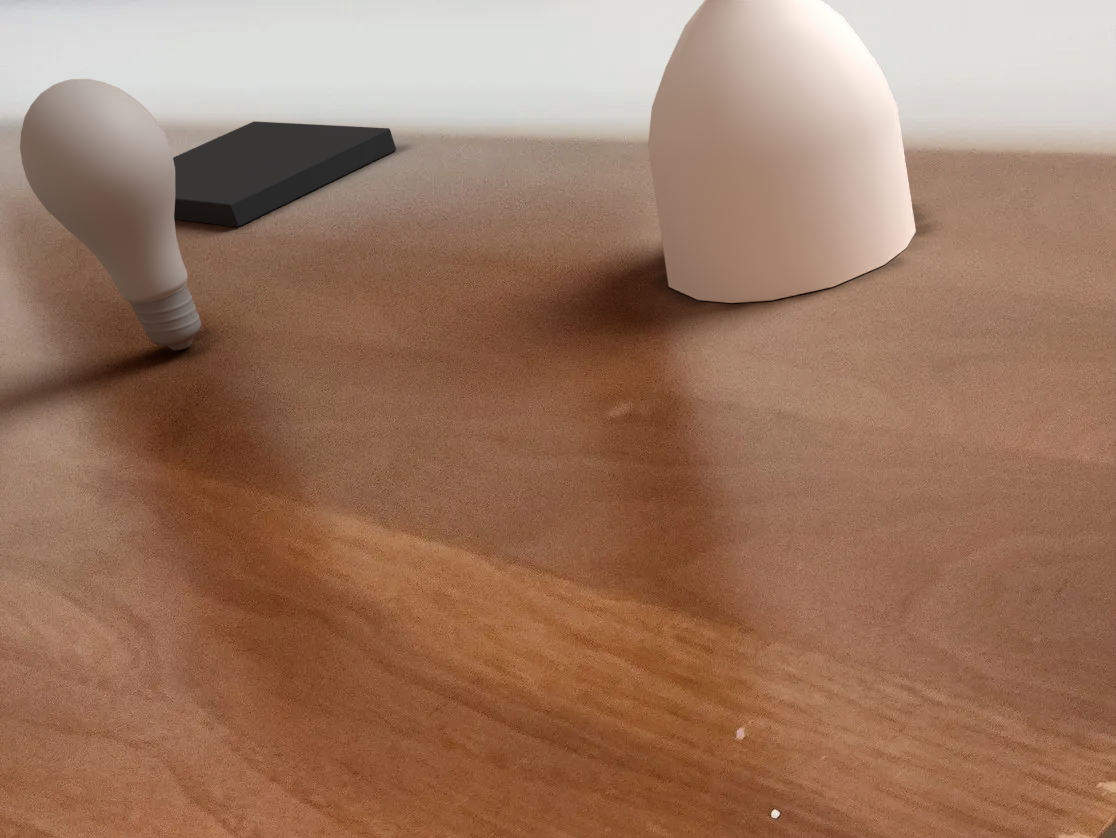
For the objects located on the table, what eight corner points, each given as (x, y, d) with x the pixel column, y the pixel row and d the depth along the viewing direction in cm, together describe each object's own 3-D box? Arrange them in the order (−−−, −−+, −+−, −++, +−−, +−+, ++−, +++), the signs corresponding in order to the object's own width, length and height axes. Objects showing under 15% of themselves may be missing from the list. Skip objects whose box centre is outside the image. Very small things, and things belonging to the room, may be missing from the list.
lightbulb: (126, 389, 65) (-7, 117, 57) (113, 350, 69) (-13, 91, 61) (256, 345, 66) (142, 72, 58) (235, 309, 70) (126, 49, 62)
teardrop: (859, 182, 67) (823, -140, 58) (958, 247, 59) (933, -114, 50) (635, 251, 66) (565, -67, 57) (706, 326, 58) (636, -28, 49)
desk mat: (108, 211, 88) (98, 190, 87) (261, 141, 93) (254, 120, 92) (238, 227, 80) (229, 204, 79) (397, 150, 86) (390, 127, 85)
